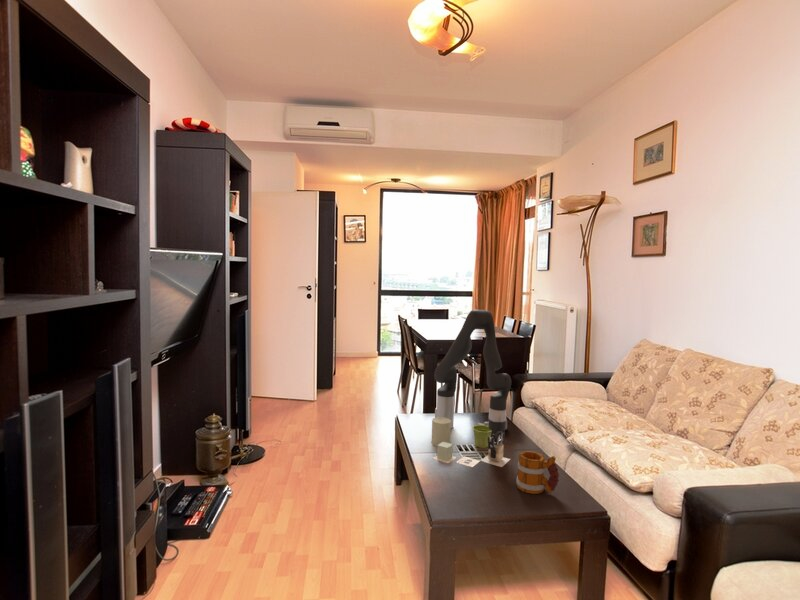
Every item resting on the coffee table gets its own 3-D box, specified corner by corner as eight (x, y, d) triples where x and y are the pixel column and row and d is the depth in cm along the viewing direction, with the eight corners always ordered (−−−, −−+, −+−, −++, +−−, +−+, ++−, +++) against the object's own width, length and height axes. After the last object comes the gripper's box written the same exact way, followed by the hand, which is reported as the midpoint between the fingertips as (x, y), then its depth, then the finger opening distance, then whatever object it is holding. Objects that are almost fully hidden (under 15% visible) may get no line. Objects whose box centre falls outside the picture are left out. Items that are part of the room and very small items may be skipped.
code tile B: (432, 459, 197) (432, 458, 197) (441, 453, 204) (441, 452, 204) (448, 463, 193) (448, 463, 193) (456, 457, 200) (456, 457, 200)
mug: (522, 478, 182) (523, 442, 181) (562, 491, 171) (564, 453, 170) (510, 487, 173) (512, 450, 172) (552, 502, 163) (554, 462, 162)
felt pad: (480, 461, 196) (480, 460, 196) (489, 454, 205) (489, 453, 204) (501, 467, 191) (501, 466, 191) (510, 460, 199) (510, 459, 199)
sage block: (437, 458, 198) (437, 445, 197) (442, 454, 202) (443, 441, 202) (447, 461, 195) (447, 447, 195) (452, 457, 199) (452, 444, 199)
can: (446, 439, 221) (447, 415, 220) (453, 446, 212) (454, 421, 212) (428, 440, 219) (429, 416, 218) (434, 447, 210) (435, 423, 209)
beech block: (488, 458, 197) (488, 445, 196) (492, 454, 201) (493, 442, 201) (498, 461, 194) (499, 448, 194) (503, 457, 198) (503, 444, 198)
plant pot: (490, 442, 218) (491, 425, 218) (492, 450, 209) (493, 432, 209) (471, 441, 219) (472, 424, 219) (472, 449, 210) (473, 431, 209)
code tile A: (455, 462, 194) (455, 462, 194) (463, 456, 201) (463, 456, 201) (472, 467, 190) (472, 467, 190) (480, 461, 196) (480, 460, 196)
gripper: (495, 412, 204) (494, 448, 205) (482, 420, 193) (481, 458, 194) (511, 415, 200) (509, 452, 201) (499, 424, 188) (497, 463, 189)
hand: (495, 455), depth 197 cm, fingers open, 5 cm apart
